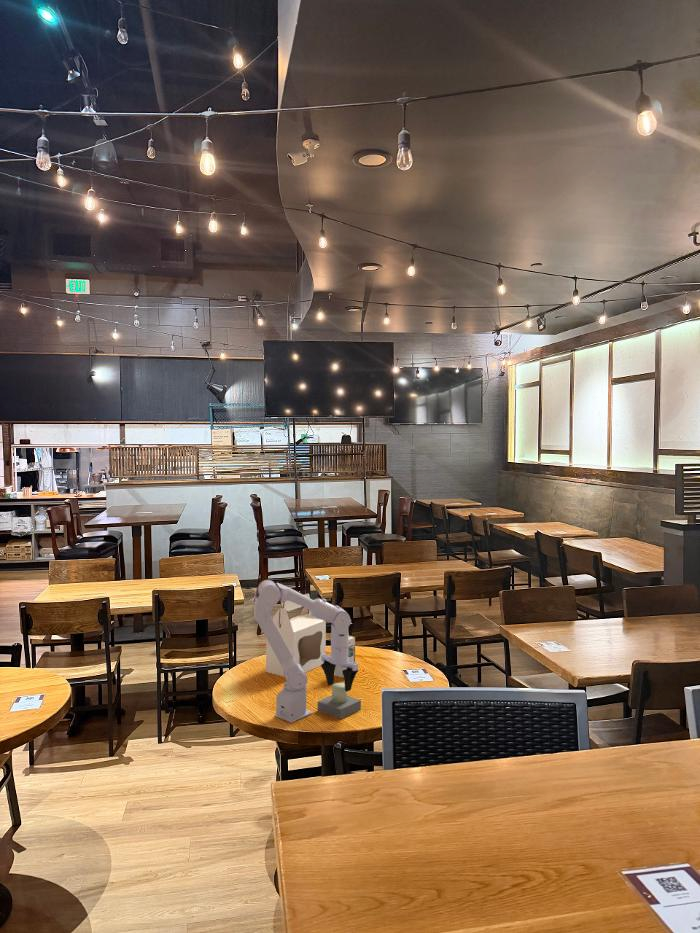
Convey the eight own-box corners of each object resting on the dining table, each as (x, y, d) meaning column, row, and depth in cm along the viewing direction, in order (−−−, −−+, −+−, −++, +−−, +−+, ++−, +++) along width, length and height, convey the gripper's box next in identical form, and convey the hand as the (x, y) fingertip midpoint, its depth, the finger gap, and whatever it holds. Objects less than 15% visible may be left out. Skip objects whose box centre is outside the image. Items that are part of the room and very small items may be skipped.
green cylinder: (340, 705, 198) (340, 689, 197) (328, 701, 201) (328, 685, 201) (350, 700, 201) (350, 685, 201) (338, 696, 205) (339, 681, 205)
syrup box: (346, 679, 230) (346, 640, 230) (333, 675, 233) (334, 637, 233) (355, 674, 234) (355, 636, 234) (343, 671, 238) (343, 634, 238)
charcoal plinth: (340, 719, 194) (340, 709, 194) (317, 710, 200) (317, 701, 200) (360, 709, 202) (360, 700, 201) (338, 701, 208) (338, 692, 208)
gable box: (299, 657, 255) (300, 589, 255) (326, 662, 248) (326, 593, 248) (265, 672, 236) (265, 599, 236) (292, 679, 229) (293, 604, 229)
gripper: (364, 647, 199) (364, 689, 199) (331, 639, 209) (331, 679, 209) (350, 652, 194) (350, 695, 194) (317, 643, 203) (316, 684, 203)
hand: (339, 687), depth 201 cm, fingers open, 7 cm apart
